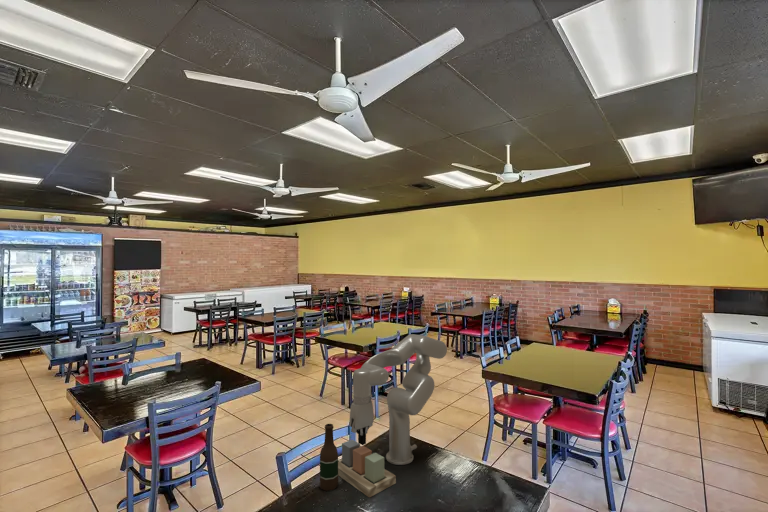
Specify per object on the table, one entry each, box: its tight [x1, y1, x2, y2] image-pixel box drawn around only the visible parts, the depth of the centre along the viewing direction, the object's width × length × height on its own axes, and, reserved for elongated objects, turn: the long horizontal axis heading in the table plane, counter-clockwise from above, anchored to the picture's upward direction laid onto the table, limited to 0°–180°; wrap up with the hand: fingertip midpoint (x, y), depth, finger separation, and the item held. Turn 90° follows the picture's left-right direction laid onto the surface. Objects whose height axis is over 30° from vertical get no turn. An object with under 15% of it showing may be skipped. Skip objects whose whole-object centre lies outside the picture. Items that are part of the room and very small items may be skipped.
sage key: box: [364, 452, 385, 484], centre depth 146 cm, size 6×6×8 cm
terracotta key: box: [352, 445, 373, 476], centre depth 152 cm, size 6×6×8 cm
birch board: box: [338, 458, 397, 498], centre depth 152 cm, size 14×26×3 cm, turn 42°
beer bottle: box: [319, 423, 339, 492], centre depth 146 cm, size 8×8×24 cm
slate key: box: [341, 439, 361, 468], centre depth 158 cm, size 6×6×8 cm
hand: (362, 443), depth 153 cm, fingers closed
